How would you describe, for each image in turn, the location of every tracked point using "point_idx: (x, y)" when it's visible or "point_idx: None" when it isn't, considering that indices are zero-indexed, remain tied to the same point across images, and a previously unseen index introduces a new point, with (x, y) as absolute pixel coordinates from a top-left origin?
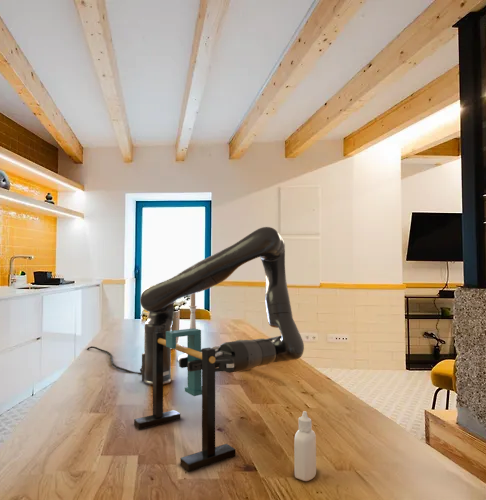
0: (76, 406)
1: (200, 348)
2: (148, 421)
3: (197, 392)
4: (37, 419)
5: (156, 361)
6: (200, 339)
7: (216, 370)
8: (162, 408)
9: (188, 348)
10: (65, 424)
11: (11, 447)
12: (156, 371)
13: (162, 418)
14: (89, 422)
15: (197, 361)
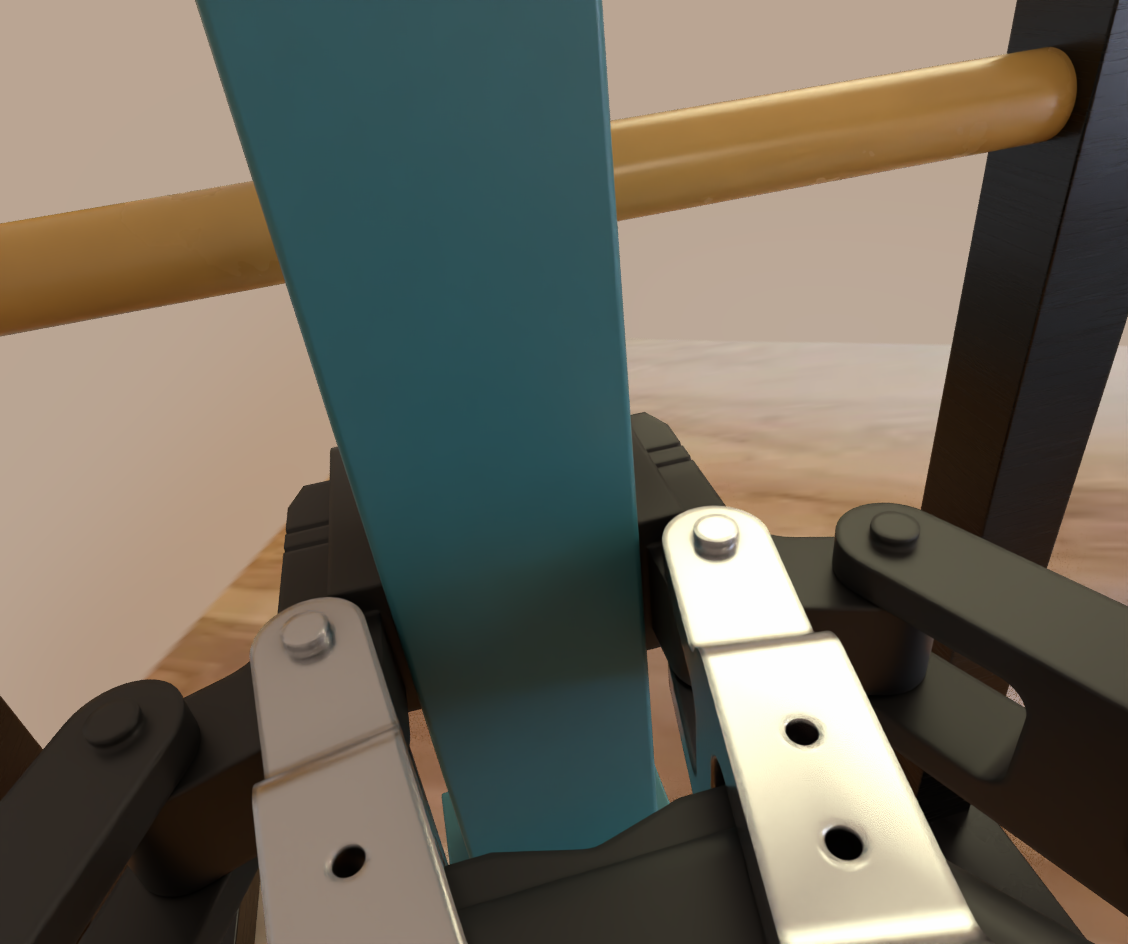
0: (1120, 439)
1: (321, 384)
2: None
3: (448, 847)
4: (918, 360)
5: (949, 358)
6: (248, 151)
7: (91, 939)
8: (917, 779)
9: (153, 199)
10: (866, 426)
11: (678, 348)
12: (930, 458)
13: None
14: (893, 490)
15: (328, 536)
